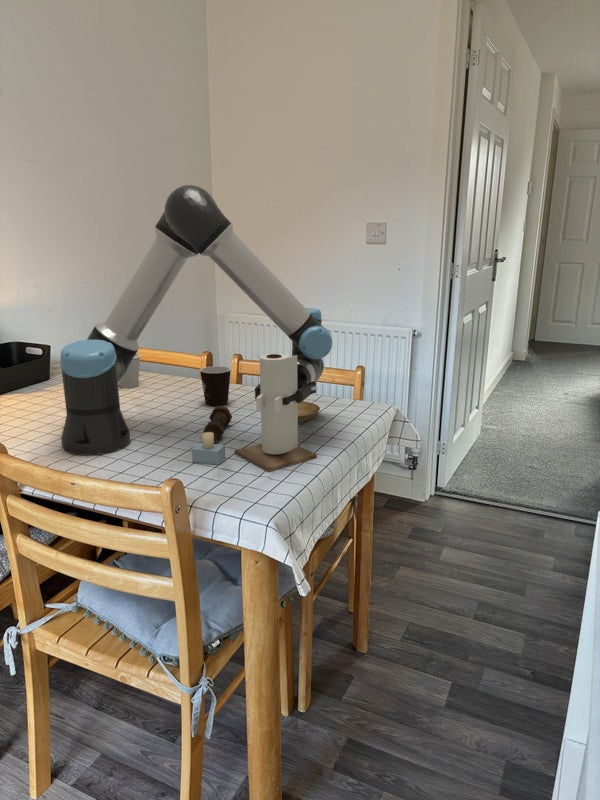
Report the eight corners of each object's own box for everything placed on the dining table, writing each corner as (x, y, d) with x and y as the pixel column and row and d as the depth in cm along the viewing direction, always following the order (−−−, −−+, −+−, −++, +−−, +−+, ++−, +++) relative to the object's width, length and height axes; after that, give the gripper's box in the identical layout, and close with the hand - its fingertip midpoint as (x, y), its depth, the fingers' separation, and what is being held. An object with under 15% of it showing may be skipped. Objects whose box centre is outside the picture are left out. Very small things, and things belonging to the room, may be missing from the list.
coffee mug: (229, 408, 164) (228, 373, 162) (199, 407, 165) (197, 373, 162) (234, 396, 176) (233, 364, 173) (206, 396, 176) (204, 363, 173)
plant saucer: (256, 413, 160) (256, 404, 160) (303, 406, 167) (303, 397, 166) (279, 429, 148) (279, 419, 147) (329, 420, 154) (330, 411, 154)
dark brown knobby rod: (207, 453, 137) (219, 429, 151) (226, 443, 136) (235, 420, 150) (194, 432, 135) (207, 411, 149) (212, 422, 134) (223, 402, 148)
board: (268, 472, 121) (268, 468, 121) (234, 453, 131) (234, 450, 131) (316, 457, 129) (316, 454, 128) (281, 441, 138) (281, 438, 138)
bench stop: (200, 455, 130) (198, 429, 128) (225, 458, 128) (224, 432, 127) (192, 462, 126) (191, 435, 124) (218, 464, 124) (217, 438, 123)
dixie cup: (110, 386, 186) (107, 355, 184) (131, 381, 193) (129, 351, 190) (127, 390, 182) (124, 359, 179) (148, 385, 188) (146, 354, 185)
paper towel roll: (257, 453, 128) (255, 357, 121) (267, 444, 133) (265, 351, 127) (289, 457, 125) (288, 360, 119) (297, 447, 131) (297, 354, 125)
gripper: (329, 395, 142) (305, 425, 120) (265, 390, 146) (230, 419, 124) (329, 365, 140) (305, 390, 118) (264, 361, 144) (229, 384, 122)
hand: (267, 404), depth 121 cm, fingers closed on paper towel roll, 3 cm apart
